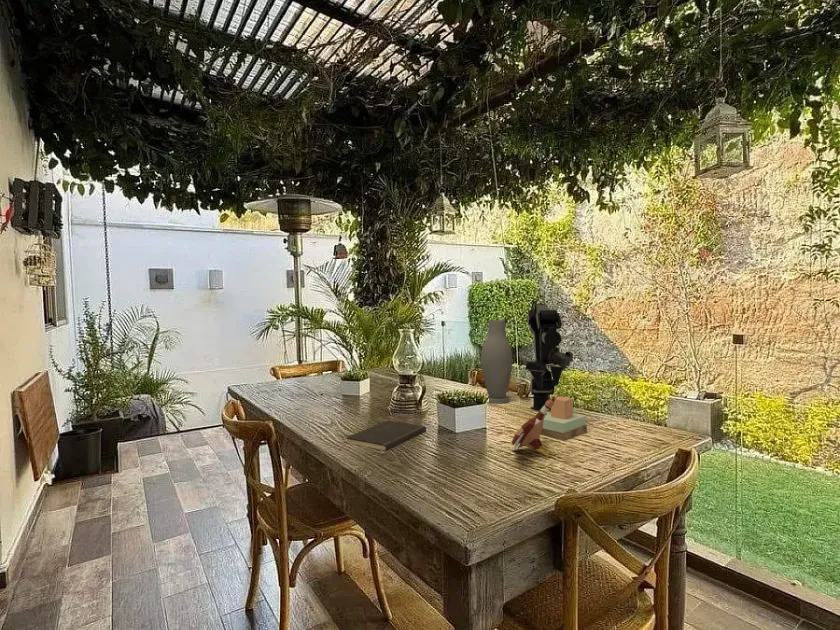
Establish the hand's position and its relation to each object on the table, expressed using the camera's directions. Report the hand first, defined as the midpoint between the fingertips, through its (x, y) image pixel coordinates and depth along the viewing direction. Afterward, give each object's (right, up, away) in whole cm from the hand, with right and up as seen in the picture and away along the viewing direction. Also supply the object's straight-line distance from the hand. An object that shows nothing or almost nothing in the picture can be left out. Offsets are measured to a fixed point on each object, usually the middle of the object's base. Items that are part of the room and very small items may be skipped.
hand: (548, 387), depth 168 cm
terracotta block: (0, -7, -15) cm, 17 cm away
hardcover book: (-57, -15, -16) cm, 61 cm away
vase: (-13, -11, +33) cm, 37 cm away
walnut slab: (0, -13, -15) cm, 20 cm away
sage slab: (0, -10, -15) cm, 18 cm away
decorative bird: (-14, -14, -35) cm, 40 cm away
